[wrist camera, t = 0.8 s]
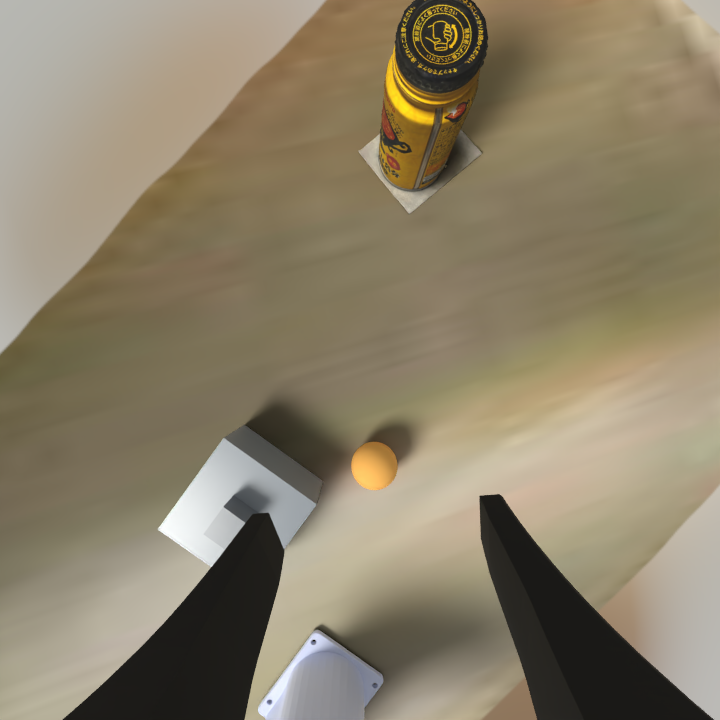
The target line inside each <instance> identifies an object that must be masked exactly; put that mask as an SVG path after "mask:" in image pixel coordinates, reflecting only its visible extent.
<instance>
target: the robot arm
mask: <svg viewBox="0 0 720 720" xmlns="http://www.w3.org/2000/svg"><path fill="white" fill-rule="evenodd" d="M480 524H481V540H482V544H483V548H484V553H485V557H486V560H487V564H488V568H489V572H490V575H491V578H492V581H493V584H494V587H495V590H496V593H497V595H498V598H499V601H500V604H501V607H502V610H503V612H504V615H505V618H506V621H507V624H508V627H509V629H510V632H511V635H512V638H513V641H514V644H515V646H516V649H517V652H518V655H519V658H520V661H521V664H522V667H523V670H524V673H525V677H526V680H527V684H528V687H529V691H530V695H531V698H532V702H533V705H534V709H535V713H536V716H537V720H714V719H713V718H711V717H710V716H709V715H707V713H705V712H704V711H703V710H702V709H701V708H700V707H698V706H697V705H696V704H695V703H694V702H693V701H691V700H690V699H689V698H688V697H687V696H686V695H685V694H684V693H682V692H681V691H680V690H679V689H678V688H677V687H676V686H675V685H674V684H673V683H671V682H670V681H669V680H668V679H667V678H666V677H665V676H664V675H663V674H661V673H660V672H659V671H658V670H657V669H656V668H655V667H654V666H653V665H651V664H650V663H649V662H648V661H647V660H646V659H645V658H644V657H643V656H641V655H640V654H639V653H638V652H637V651H636V650H635V649H634V648H633V647H632V646H631V645H630V644H629V643H628V642H627V641H626V640H625V639H624V638H623V637H622V636H621V635H620V634H619V633H617V632H616V631H615V630H614V629H613V628H612V627H611V626H610V624H609V623H607V621H606V620H605V619H603V617H602V616H601V615H600V614H599V613H598V612H597V611H596V610H595V609H594V608H593V607H592V606H591V605H590V604H589V603H588V602H587V601H586V600H585V599H584V598H583V597H582V596H581V594H580V593H579V592H578V591H577V590H576V589H575V588H574V587H573V586H572V585H571V583H570V582H569V581H568V580H567V579H566V578H565V577H564V576H563V575H562V573H561V572H560V571H559V570H558V569H557V568H556V566H555V565H554V564H553V563H552V562H551V560H550V559H549V558H548V557H547V556H546V554H545V553H544V552H543V551H542V550H541V548H540V547H539V546H538V545H537V544H536V542H535V541H534V540H533V538H532V537H531V536H530V535H529V533H528V532H527V531H526V529H525V528H524V527H523V525H522V524H521V523H520V521H519V520H518V519H517V517H516V516H515V515H514V513H513V512H512V510H511V509H510V507H509V506H508V504H507V503H506V501H505V500H504V498H503V497H502V496H501V495H499V494H497V495H484V496H480ZM283 558H284V548H283V546H282V543H281V541H280V538H279V536H278V534H277V531H276V529H275V526H274V524H273V521H272V519H271V517H270V514H269V513H256V514H252V515H251V516H250V518H249V519H248V520H247V522H246V523H245V524H244V525H243V527H242V528H241V529H240V531H239V532H238V533H237V535H236V536H235V537H234V539H233V540H232V541H231V543H230V544H229V545H228V546H227V548H226V549H225V550H224V552H223V553H222V554H221V556H220V557H219V558H218V559H217V561H216V562H215V563H214V564H213V566H212V567H211V568H210V570H209V571H208V572H207V573H206V575H205V576H204V577H203V578H202V580H201V581H200V582H199V583H198V584H197V586H196V587H195V588H194V589H193V590H192V592H191V593H190V594H189V595H188V596H187V597H186V599H185V600H184V601H183V602H182V603H181V605H180V606H179V607H178V608H177V609H176V610H175V611H174V613H173V614H172V615H171V616H170V617H169V618H168V619H167V620H166V621H165V623H164V624H163V625H162V626H161V627H160V628H159V629H158V630H157V631H156V632H155V633H154V634H153V635H152V636H151V637H150V638H149V639H148V641H147V642H146V643H145V644H144V645H143V646H142V647H141V648H140V649H139V650H138V651H137V652H136V653H135V654H133V655H132V656H131V657H130V658H129V659H128V660H127V661H126V662H125V663H124V664H123V665H122V666H121V667H120V668H119V669H118V670H117V671H116V672H115V673H114V674H113V675H112V676H111V677H110V678H109V679H108V680H107V681H105V682H104V683H103V684H102V685H101V686H100V687H99V688H98V689H97V690H96V691H95V692H93V693H92V694H91V695H90V696H89V697H88V698H87V699H86V700H85V701H83V702H82V703H81V704H80V705H79V706H78V707H77V708H75V709H74V710H73V711H72V712H71V713H70V714H69V715H67V716H66V717H65V718H64V719H63V720H244V719H245V714H246V709H247V704H248V699H249V694H250V689H251V684H252V680H253V676H254V672H255V668H256V664H257V660H258V657H259V653H260V650H261V646H262V643H263V639H264V636H265V632H266V629H267V625H268V622H269V618H270V615H271V611H272V608H273V604H274V600H275V597H276V593H277V589H278V586H279V581H280V576H281V570H282V564H283ZM312 640H316V641H312ZM373 683H377V684H373ZM382 684H383V675H382V674H381V673H379V672H378V671H377V670H375V669H374V668H372V667H371V666H370V665H368V664H367V663H365V662H364V661H362V660H361V659H360V658H358V657H357V656H355V655H354V654H353V653H351V652H350V651H348V650H347V649H345V648H344V647H343V646H341V645H340V644H338V643H337V642H336V641H334V640H333V639H331V638H330V637H329V636H327V635H326V634H324V633H323V632H321V631H320V630H314V631H313V632H312V634H311V635H310V637H309V638H308V639H307V641H306V642H305V643H304V645H303V646H302V647H301V649H300V650H299V651H298V653H297V654H296V655H295V657H294V658H293V660H292V661H291V662H290V664H289V665H288V666H287V668H286V669H285V670H284V672H283V673H282V674H281V676H280V677H279V679H278V680H277V681H276V683H275V684H274V685H273V687H272V688H271V689H270V691H269V692H268V693H267V695H266V696H265V698H264V699H263V700H262V702H261V703H260V705H259V708H258V712H259V713H260V714H261V715H262V716H263V717H265V720H364V708H365V707H366V705H367V704H368V703H369V701H370V700H371V699H372V697H373V696H374V695H375V693H376V692H377V691H378V689H379V688H380V687H381V685H382ZM269 699H270V700H269Z"/></svg>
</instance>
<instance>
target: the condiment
mask: <svg viewBox="0 0 720 720" xmlns="http://www.w3.org/2000/svg"><path fill="white" fill-rule="evenodd" d="M487 40H488V34H487V28H486V21H485V18H484V16H483V14H482V13H481V11H480V9H479V8H478V7H477V6H476V4H475V3H474V2H473V1H471V0H415V1H413V2H412V4H411V5H410V6H408V8H407V9H406V10H405V11H404V14H403V17H402V19H401V21H400V23H399V25H398V29H397V32H396V41H395V47H394V51H393V54H392V56H391V58H390V60H389V63H388V66H387V71H386V78H385V83H384V99H383V109H382V121H381V129H380V134H379V135H378V136H377V137H376V138H375V139H373V140H372V141H371V142H369V143H368V144H367V145H366V146H365V147H364V148H362V149H361V150H359V151H358V152H359V153H360V154H361V156H362V157H363V158H364V159H365V160H366V162H367V163H368V164H369V165H370V167H371V168H372V169H373V171H374V172H375V173H376V174H377V176H378V177H379V178H380V179H381V181H382V182H383V183H384V184H385V185H386V187H387V188H388V189H389V190H390V192H391V193H392V194H393V195H394V196H395V197H396V199H397V200H398V201H399V202H400V203H401V205H402V206H403V207H404V208H405V209H406V211H407V212H408V213H409V214H410V213H411V212H412V211H413V210H415V209H416V208H417V207H418V206H420V205H421V204H422V203H423V202H425V201H426V200H427V199H428V198H429V197H431V196H432V195H433V194H434V193H435V192H437V191H438V190H439V189H440V188H441V187H442V186H444V185H445V184H446V183H447V182H448V181H449V180H451V179H452V178H453V177H454V176H455V175H457V174H458V173H459V172H460V171H462V170H463V169H464V168H465V167H466V166H468V165H469V164H470V163H471V162H472V161H473V160H474V159H476V158H477V157H478V156H479V155H480V154H482V153H481V152H480V150H479V149H478V148H477V147H476V146H475V145H474V144H473V143H472V142H471V141H470V139H469V138H468V137H467V136H466V135H465V133H464V132H463V131H462V130H461V127H462V125H463V123H464V120H465V119H466V116H467V114H468V112H469V110H470V107H471V105H472V103H473V100H474V98H475V95H476V92H477V88H478V78H479V72H480V68H481V67H482V65H483V63H484V61H483V60H484V58H485V56H486V50H487V47H488V44H487ZM445 165H447V167H446V168H445V167H444V166H445Z"/></svg>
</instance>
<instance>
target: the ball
mask: <svg viewBox="0 0 720 720" xmlns="http://www.w3.org/2000/svg"><path fill="white" fill-rule="evenodd" d="M351 467H352V473H353V476H354V478H355V479H356V481H357V482H358V483H359V484H360V485H361V486H363V487H364V488H367V489H370V490H380V489H383V488H385V487H387V486H388V485H389V484H390V483H391V482H392V481H393V480H394V478H395V476H396V473H397V459H396V456H395V454H394V453H393V451H392V450H391V449H390V448H389V447H388V446H386V445H385V444H383V443H380V442H368V443H365V444H363V445H362V446H360V447H359V448H358V449H357V451H356V452H355V453H354V456H353V458H352V463H351Z"/></svg>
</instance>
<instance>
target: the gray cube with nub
mask: <svg viewBox="0 0 720 720" xmlns="http://www.w3.org/2000/svg"><path fill="white" fill-rule="evenodd" d="M322 484H323V481H322V480H321V479H319V478H318V477H317V476H315V475H314V474H313V473H311V472H310V471H308V470H307V469H306V468H304V467H303V466H301V465H300V464H299V463H297V462H296V461H294V460H293V459H292V458H290V457H289V456H287V455H286V454H285V453H283V452H282V451H280V450H279V449H278V448H276V447H275V446H273V445H272V444H271V443H269V442H268V441H266V440H265V439H264V438H262V437H261V436H260V435H258V434H257V433H255V432H254V431H253V430H251V429H250V428H248V427H247V426H246V425H243V426H242V427H240V428H239V429H237V430H235V431H234V432H232V433H231V434H229V435H228V436H226V437H224V438H223V440H222V441H221V442H220V444H219V445H218V447H217V448H216V449H215V451H214V452H213V454H212V455H211V456H210V458H209V459H208V461H207V462H206V463H205V465H204V466H203V467H202V469H201V470H200V472H199V473H198V474H197V476H196V477H195V479H194V480H193V481H192V483H191V484H190V486H189V487H188V488H187V490H186V491H185V492H184V494H183V495H182V497H181V498H180V499H179V501H178V502H177V504H176V505H175V506H174V508H173V509H172V511H171V512H170V513H169V515H168V516H167V517H166V519H165V520H164V522H163V523H162V524H161V526H160V527H159V529H158V530H159V531H161V532H162V533H164V534H165V535H167V536H168V537H169V538H171V539H172V540H174V541H175V542H176V543H178V544H179V545H181V546H182V547H183V548H185V549H186V550H188V551H189V552H191V553H192V554H193V555H195V556H196V557H198V558H199V559H200V560H202V561H203V562H205V563H206V564H208V565H209V566H210V567H212V566H213V564H214V563H215V562H216V561H217V559H218V558H219V557H220V556H221V554H222V553H223V552H224V550H225V549H226V548H227V546H228V545H229V544H230V543H231V541H232V540H233V539H234V537H235V536H236V535H237V533H238V532H239V531H240V529H241V528H242V527H243V525H244V524H245V523H246V522H247V520H248V519H249V518H250V516H251V515H252V514H256V513H269V514H270V517H271V519H272V521H273V524H274V526H275V529H276V531H277V534H278V536H279V538H280V541H281V543H282V546H283V548H284V549H285V547H286V546H287V544H288V543H289V542H290V540H291V539H292V538H293V536H294V535H295V533H296V532H297V531H298V529H299V528H300V527H301V525H302V524H303V523H304V521H305V520H306V518H307V517H308V516H309V514H310V513H311V512H312V510H313V509H314V507H315V506H316V505H317V502H318V498H319V495H320V491H321V487H322Z"/></svg>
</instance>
